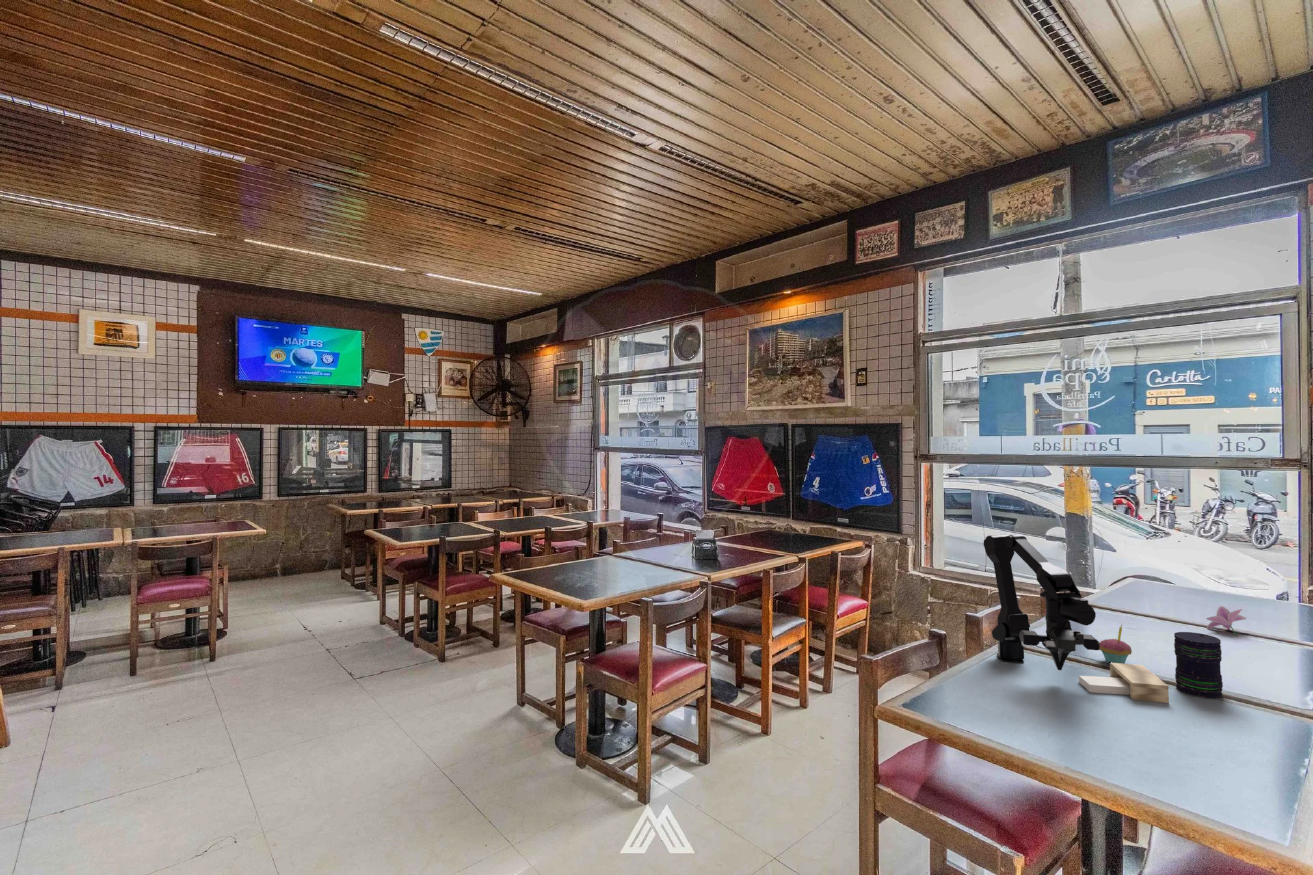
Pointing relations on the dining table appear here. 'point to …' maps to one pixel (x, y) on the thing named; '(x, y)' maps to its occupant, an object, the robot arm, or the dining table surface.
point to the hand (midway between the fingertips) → (1059, 669)
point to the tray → (1105, 684)
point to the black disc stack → (1198, 665)
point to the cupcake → (1115, 649)
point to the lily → (1225, 618)
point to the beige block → (1141, 682)
